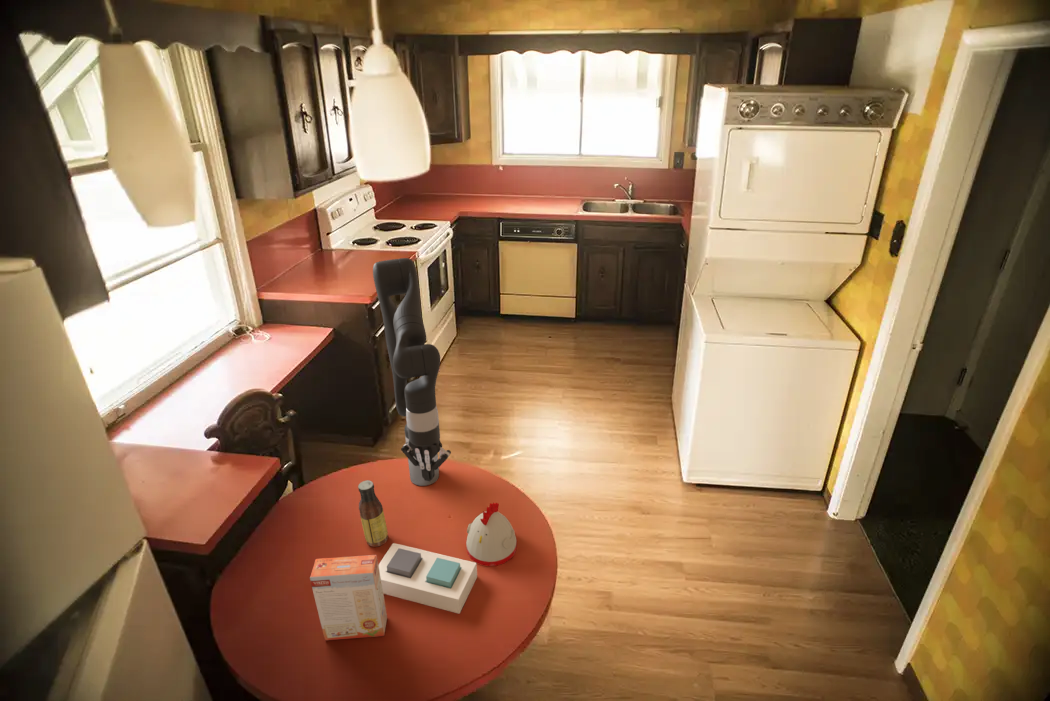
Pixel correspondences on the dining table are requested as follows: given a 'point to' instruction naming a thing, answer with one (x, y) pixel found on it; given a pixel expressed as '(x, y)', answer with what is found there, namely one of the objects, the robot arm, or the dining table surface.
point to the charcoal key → (404, 563)
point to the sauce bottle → (372, 515)
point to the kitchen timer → (491, 538)
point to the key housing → (424, 591)
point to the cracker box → (349, 597)
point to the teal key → (443, 573)
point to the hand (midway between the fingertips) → (428, 479)
